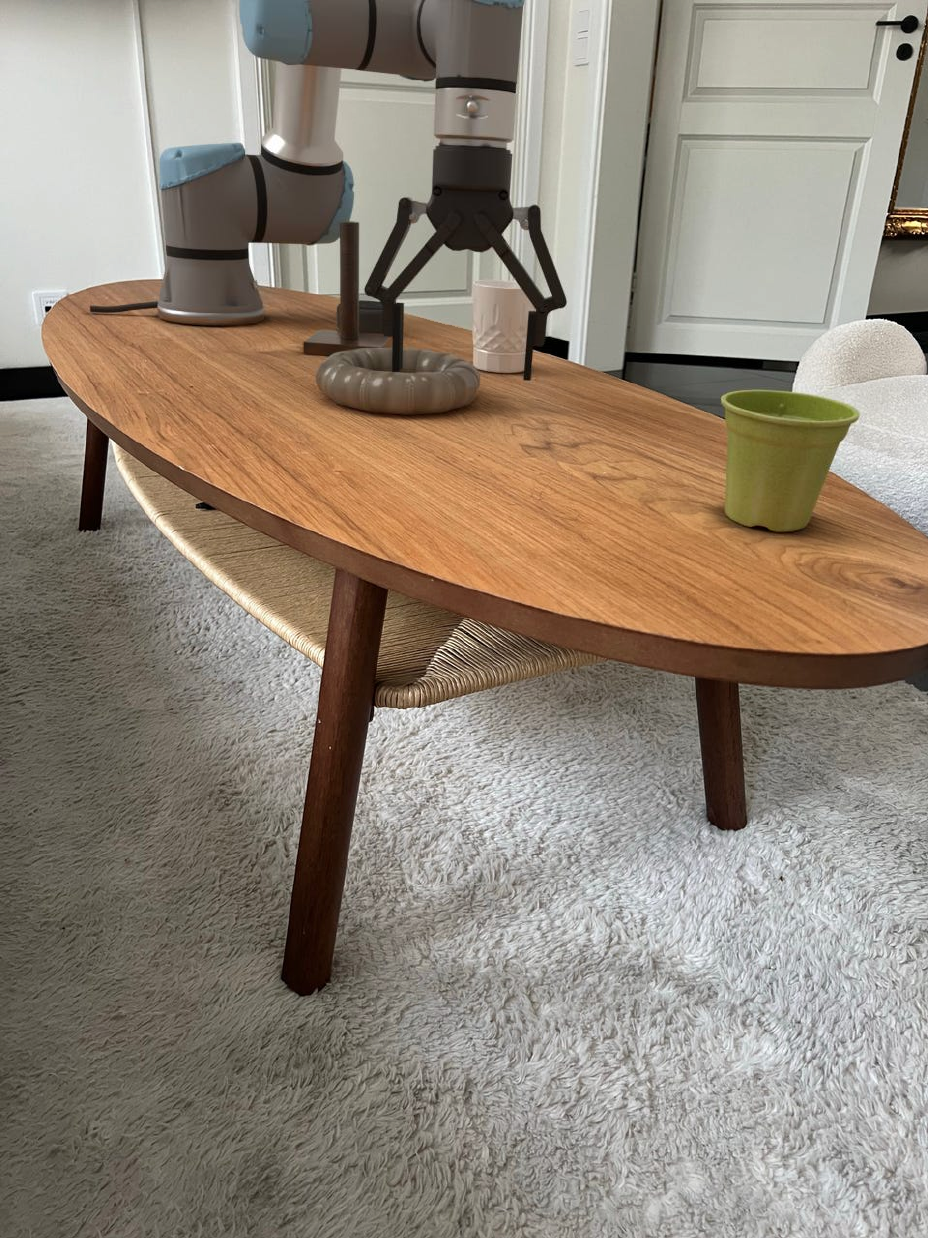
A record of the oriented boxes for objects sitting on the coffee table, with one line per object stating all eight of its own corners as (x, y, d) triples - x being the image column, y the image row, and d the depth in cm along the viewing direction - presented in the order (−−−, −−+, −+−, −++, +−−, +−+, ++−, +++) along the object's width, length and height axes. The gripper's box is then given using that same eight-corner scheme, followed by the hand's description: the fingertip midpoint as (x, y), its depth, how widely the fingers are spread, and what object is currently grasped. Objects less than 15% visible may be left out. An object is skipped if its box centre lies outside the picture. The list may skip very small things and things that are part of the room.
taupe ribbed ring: (301, 411, 89) (300, 369, 87) (335, 375, 104) (335, 340, 102) (472, 423, 88) (475, 382, 86) (482, 386, 103) (484, 350, 102)
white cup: (543, 370, 114) (551, 286, 109) (502, 377, 109) (509, 289, 104) (496, 359, 118) (502, 278, 114) (455, 365, 113) (459, 281, 109)
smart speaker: (350, 325, 136) (350, 297, 134) (406, 331, 134) (407, 303, 132) (327, 333, 128) (326, 304, 127) (385, 340, 126) (386, 310, 125)
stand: (303, 353, 115) (300, 220, 108) (320, 340, 123) (318, 217, 117) (381, 359, 114) (383, 226, 107) (392, 345, 123) (395, 222, 116)
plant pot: (756, 548, 62) (783, 424, 59) (676, 503, 70) (695, 391, 66) (857, 535, 66) (889, 417, 62) (771, 493, 74) (794, 386, 70)
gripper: (334, 135, 82) (336, 372, 91) (608, 150, 81) (583, 389, 90) (349, 138, 89) (350, 359, 98) (603, 153, 88) (579, 374, 97)
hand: (461, 374), depth 94 cm, fingers open, 13 cm apart
